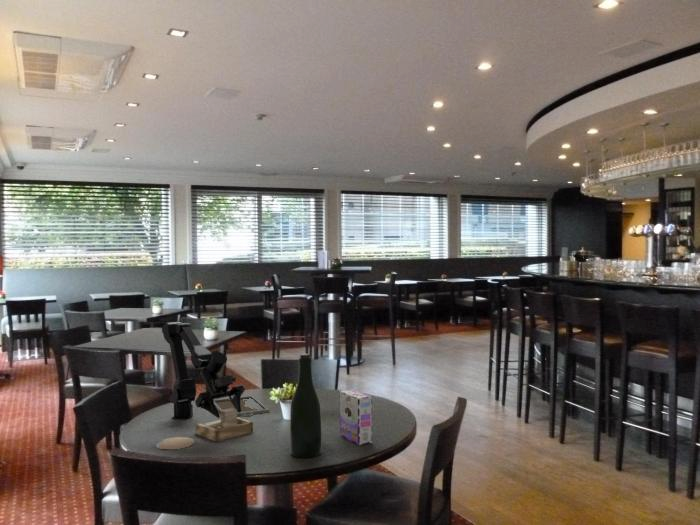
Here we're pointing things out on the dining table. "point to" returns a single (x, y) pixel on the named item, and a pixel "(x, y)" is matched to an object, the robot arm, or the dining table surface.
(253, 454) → the dining table surface
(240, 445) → the dining table surface
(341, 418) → the candy box
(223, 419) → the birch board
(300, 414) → the green wine bottle
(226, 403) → the picture frame
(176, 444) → the cork mat
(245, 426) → the frame
